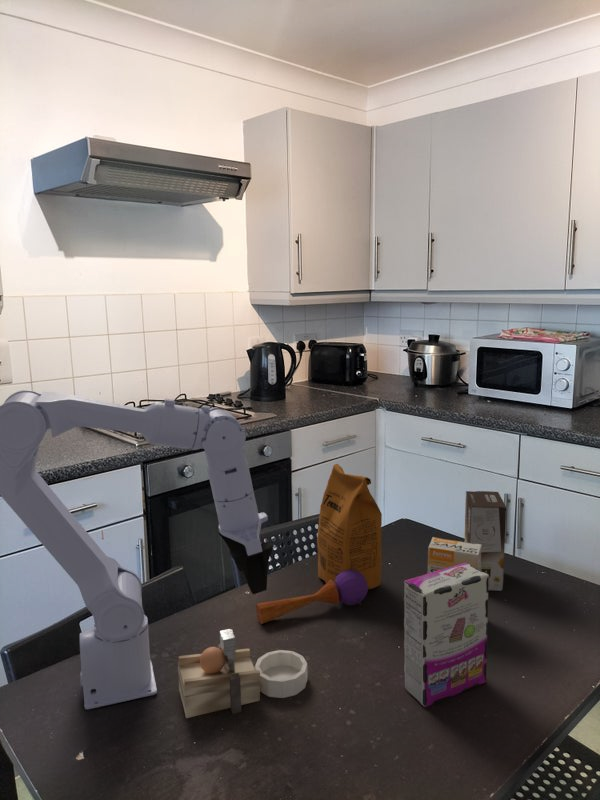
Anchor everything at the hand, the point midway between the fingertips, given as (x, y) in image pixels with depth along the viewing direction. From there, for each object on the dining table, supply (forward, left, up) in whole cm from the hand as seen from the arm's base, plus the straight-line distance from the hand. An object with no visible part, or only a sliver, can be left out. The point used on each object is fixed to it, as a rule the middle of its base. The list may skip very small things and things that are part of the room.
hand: (252, 579), depth 90 cm
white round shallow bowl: (+2, -6, -13) cm, 15 cm away
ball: (-7, -6, -8) cm, 12 cm away
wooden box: (-7, -6, -13) cm, 16 cm away
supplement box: (+34, 0, -13) cm, 37 cm away
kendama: (+13, +10, -13) cm, 22 cm away
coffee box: (+47, +10, -13) cm, 50 cm away
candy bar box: (+23, -15, -13) cm, 31 cm away
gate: (-5, -6, -9) cm, 12 cm away
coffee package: (+23, +18, -13) cm, 32 cm away
